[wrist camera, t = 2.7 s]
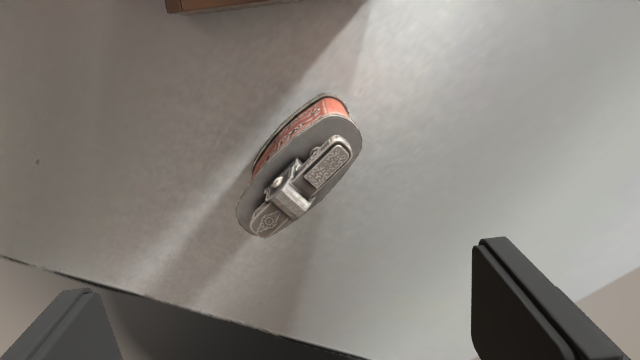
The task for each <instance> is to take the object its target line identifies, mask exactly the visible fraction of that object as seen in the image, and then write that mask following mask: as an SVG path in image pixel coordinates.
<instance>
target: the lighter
mask: <svg viewBox="0 0 640 360" xmlns="http://www.w3.org/2000/svg"><path fill="white" fill-rule="evenodd" d="M361 148H362V138H361V134H360V131H359V129H358V127H357V126H356V125H355V123H354V122H353V121H352V120H351V119H349V112H348V109H347V106H346V104H345V103H344V101H343V100H342V99H341V98H340V97H338V96H337V95H335V94H332V93H322V94H320V95H318V96H316V97H315V98H313V99H312V100H310V101H309V102H308V103H306V104H305V105H303V106H302V107H300V108H299V109H298V110H297V111H296V112H294V113H293V114H292V115H291V116H290V117H289V118H288V119H287V120H285V121H284V122H283V123H282V124H281V125H280V126H279V127H278V129H277V130H276V131H275V132H274V133H273V135H272V136H271V137H270V138H269V139H268V141H267V142H266V143H265V145H264V146H263V148H262V149H261V151H260V153H259V154H258V156H257V157H256V159H255V161H254V163H253V166H252V169H251V171H252V177H251V180H250V183H249V185H248V187H247V188H246V190H245V191H244V193H243V194H242V196H241V198H240V200H239V203H238V205H237V208H236V217H237V220H238V222H239V224H240V225H241V226H242V227H243V228H244V229H245V230H246V231H247V232H249V233H251V234H252V235H256V236H259V237H260V238H264V239H265V238H268V237H270V236H271V235H274V234H276V233H277V232H279V231H280V230H282V229H283V228H285V227H287V226H288V225H290V224H291V223H293V222H294V221H296V220H298V219H299V218H300V217H301V216H303V215H304V214H305V213H306V212H307V211H309V210H310V209H311V208H312V207H314V206H315V205H316V204H317V203H318V202H320V201H321V200H322V199H323V198H324V197H325V196H326V194H327V193H328V192H329V191H330V190H331V189H332V188H333V187H334V186H335V185H336V184H337V183H338V181H339V180H340V179H341V178H342V177H343V175H344V174H345V173H346V171H347V170H348V169H349V167H350V166H351V164H352V163H353V162H354V160H355V159H356V158H357V156H358V155H359V153H360V151H361Z"/></svg>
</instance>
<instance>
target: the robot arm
mask: <svg viewBox="0 0 640 360" xmlns="http://www.w3.org/2000/svg"><path fill="white" fill-rule="evenodd" d="M471 337H472V342H473V345H474V348H475V350H476V352H477V353H478V355H479V357H480V359H481V360H631V359H630V358H628V356H627V355H625V354H624V352H622V350H621V349H620V348H619V347H618V346H617V345H616V344H615V343H614V342H613V341H612V340H611V339H610V338H609V337H608V336H607V335H606V334H604V332H602V331H601V329H599V328H598V327H597V326H596V325H595V324H594V323H593V322H592V321H591V320H590V319H589V318H588V317H587V316H586V315H585V314H584V313H583V312H582V311H581V310H580V309H579V308H578V307H577V306H576V305H575V304H574V303H573V302H572V301H571V300H570V299H569V298H568V297H567V296H566V295H565V294H564V293H563V292H562V291H561V290H560V289H559V288H558V287H556V286H554V285H553V284H552V283H551V282H550V281H549V280H548V279H547V278H546V277H545V276H544V275H543V274H542V273H541V272H540V271H539V270H538V269H537V268H536V267H535V266H534V265H533V264H532V263H531V262H530V261H529V260H528V259H527V258H526V257H525V256H524V255H523V254H522V253H521V252H520V251H519V250H518V249H517V247H516V246H515V245H514V244H513V243H512V242H511V241H510V240H509V239H508V238H506V237H495V238H487V239H481V240H480V242H479V245H478V246H474V247H473V249H472V299H471ZM0 360H123V359H122V356H121V353H120V351H119V348H118V345H117V342H116V339H115V336H114V333H113V330H112V328H111V325H110V322H109V319H108V316H107V314H106V311H105V308H104V305H103V303H102V300H101V297H100V295H99V294H98V293H93V291H92V290H91V289H89V288H82V289H74V290H66V291H62V292H61V293H60V294H59V295H58V296H57V297H56V298H55V299H54V300H53V301H52V302H51V304H50V305H49V306H48V307H47V308H46V309H45V310H44V311H43V312H42V313H41V314H40V316H39V317H38V318H37V319H36V320H35V321H34V322H33V323H32V324H31V325H30V326H29V327H28V328H27V330H26V331H25V332H24V333H23V334H22V335H21V336H20V337H19V338H18V339H17V340H16V341H15V343H14V344H13V345H12V346H11V347H10V348H9V349H8V350H7V351H6V352H5V353H4V355H3V356H2V357H1V358H0Z"/></svg>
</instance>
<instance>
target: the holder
mask: <svg viewBox="0 0 640 360" xmlns="http://www.w3.org/2000/svg"><path fill="white" fill-rule="evenodd" d="M297 1H304V0H165V4H166V9H167V13H169V14H178V15H193V14H201V13H209V12H217V11H225V10H233V9H241V8H249V7H257V6H265V5H273V4H281V3H289V2H297Z"/></svg>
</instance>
